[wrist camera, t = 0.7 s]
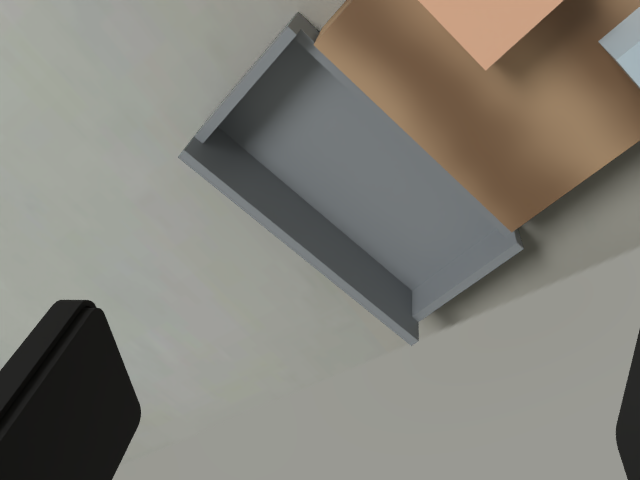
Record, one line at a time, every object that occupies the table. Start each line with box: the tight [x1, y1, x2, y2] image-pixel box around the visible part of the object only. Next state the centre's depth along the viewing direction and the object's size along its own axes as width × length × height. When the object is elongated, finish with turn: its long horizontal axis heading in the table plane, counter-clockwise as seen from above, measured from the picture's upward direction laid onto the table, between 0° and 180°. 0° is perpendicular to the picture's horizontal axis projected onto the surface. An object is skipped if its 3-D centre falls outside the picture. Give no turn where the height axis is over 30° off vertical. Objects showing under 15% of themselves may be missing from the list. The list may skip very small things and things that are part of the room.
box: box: [178, 12, 524, 346], centre depth 35 cm, size 9×18×5 cm, turn 48°
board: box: [314, 0, 640, 232], centre depth 28 cm, size 19×15×4 cm
